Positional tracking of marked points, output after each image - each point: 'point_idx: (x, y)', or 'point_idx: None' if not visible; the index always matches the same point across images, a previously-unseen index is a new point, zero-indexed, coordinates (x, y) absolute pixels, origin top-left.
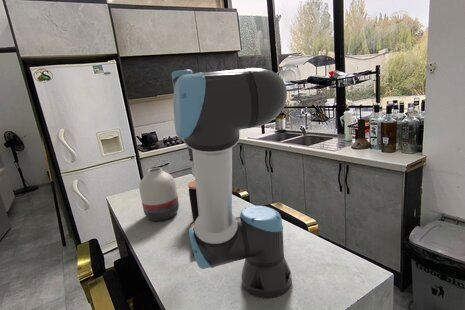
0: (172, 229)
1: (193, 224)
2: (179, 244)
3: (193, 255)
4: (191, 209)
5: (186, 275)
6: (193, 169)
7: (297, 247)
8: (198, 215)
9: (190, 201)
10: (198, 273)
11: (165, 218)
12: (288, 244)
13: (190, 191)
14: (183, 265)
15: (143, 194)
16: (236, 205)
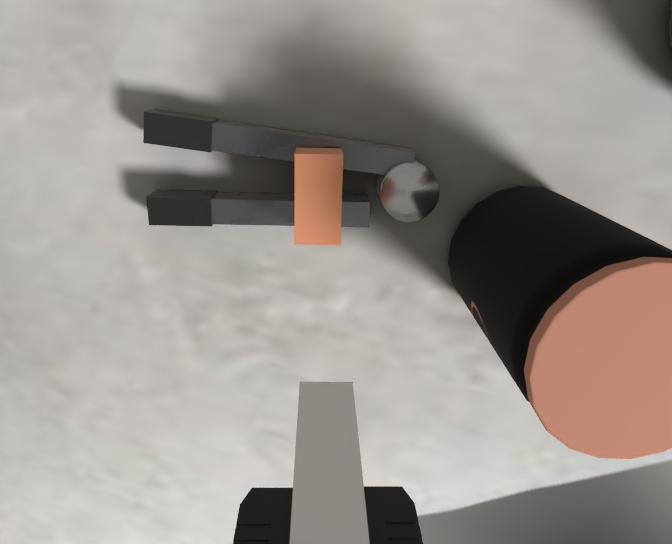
0: (512, 41)
1: (335, 171)
2: (312, 56)
3: (154, 110)
4: (564, 201)
5: (13, 44)
6: (295, 462)
7: (68, 510)
8: (480, 226)
9: (577, 217)
10: (13, 104)
11: (670, 10)
12: (100, 493)
13: (597, 254)
14: (100, 44)
15: None
16: None
